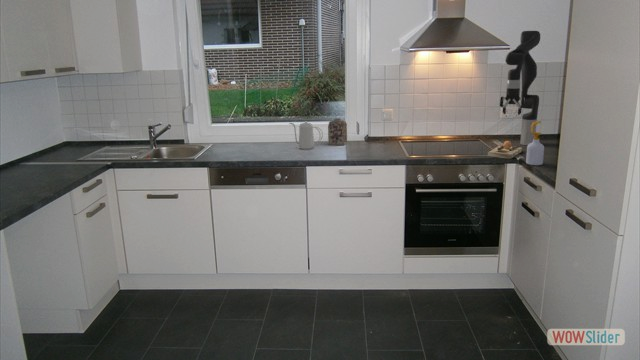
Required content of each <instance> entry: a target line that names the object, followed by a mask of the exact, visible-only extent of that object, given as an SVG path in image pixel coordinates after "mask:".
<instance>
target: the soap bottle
mask: <svg viewBox="0 0 640 360" xmlns="http://www.w3.org/2000/svg"><path fill="white" fill-rule="evenodd" d="M541 123H542V120H537V122H534V123H532V125H531V132H532V133H533V126H534V125H535V124H537V125H538V124H541ZM533 134H534V136H535V138H533V142H532V143H530V144H529V145H526V157H525V158H526V159H525V163H526V164H527V165H530V166H541V165H543V164H544V154H545V153H544V152H545V146H544V144H542V143H541V142H540V137H539V136H540V135H542V133H541V132H536V133H533Z"/></svg>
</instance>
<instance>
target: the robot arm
mask: <svg viewBox="0 0 640 360" xmlns="http://www.w3.org/2000/svg"><path fill="white" fill-rule="evenodd" d="M540 42H541V33H540V31H538V30H523V31H522V32H521V34H520V44H518V46H517V47H516V48H515V49H513V50H511V51H510V52H508V53H507V54H506V56H505V64H506V65H508V66H516V67H515V68H511V69H508V72H507V80H506V81H507V82H506V92H505V95H506V96H503V95H502V96H500V99H499V100H500V101H499V107H501V108H502V113H503V115H506V113H507V106H508V105H516V106H517V108H518V111H517V115H518V116H519V115H521V113H522V110H523V109H528V110H529V109H530V110H531V111H529V112H526V113H523V114H522V117H521V129H520V131H521V132H520V142H519V143H520V145H521V146H528V145H529V144H530V143H532V142H533V138H535V136H534V134H533V133H537V125H538V124H535V125H534V126H533V133H532V132H531V125H532V123H534V122H537V121H538V114H539V105H540V96H539V95H538V94H529V93H528V91H529V88H530V87H531V85H532V83H534V81H535V79H536V77H537V75H538V70H537V69H538V67H537V66H538V65H537V63H536V61H535V60H534V58H533V57H532V55H531V54H530V51H532V50H533V49H534V48H535V47H537V46H538V45H539V43H540ZM520 93H521V95H520ZM504 101H505V103H504Z"/></svg>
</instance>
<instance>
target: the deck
mask: <svg viewBox="0 0 640 360" xmlns="http://www.w3.org/2000/svg"><path fill="white" fill-rule="evenodd" d="M522 152H523V147H521V146H519V147H518V144H515V145H514V146H511V148H509V149H506V148H504V146H503V144H502V145H498V146H497V147H495V148H493V149H491V150H490V151H488V152H487V157H491V158H492V157H493V158H500V159H501V158H502V159H509V160H510V159H512V158H514V157H515V156H517V155H519V154H520V153H522Z"/></svg>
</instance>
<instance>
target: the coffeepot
mask: <svg viewBox="0 0 640 360" xmlns="http://www.w3.org/2000/svg"><path fill="white" fill-rule="evenodd" d="M288 125H292V126H293V127H294V128H293V129H294V136H295V137H294V139H295V142H296V144H298V148H299V150H312V149H315V145H317V144H319V143H320V142H321V141H322V139H323V135H324V131H323V130H322V129H321V128H320V127H318V126H313V124H312V123H310V122H308V121H307V120H305V121H303V122H301V123H300V125H298V127H299V130H298V131H299V133H298V135H299V136H298V137H297V130H296V124H294V123H292V122H289V123H288ZM314 129H316V130H317V131H318V134H319V138H318V140H317V142H316V143H315V138H314V137H315V136H314ZM297 138H298V139H297Z"/></svg>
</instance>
